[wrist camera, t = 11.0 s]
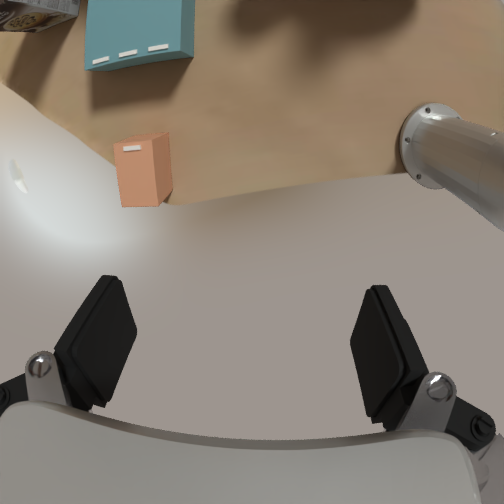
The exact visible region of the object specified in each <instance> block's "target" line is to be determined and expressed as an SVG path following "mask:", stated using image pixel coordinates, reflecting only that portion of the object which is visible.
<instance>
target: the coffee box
mask: <svg viewBox="0 0 504 504" xmlns="http://www.w3.org/2000/svg"><path fill="white" fill-rule="evenodd" d="M79 6H80V0H0V31H8V32H33V33H38V32H40V31H42V30H45V29H47V28H49V27H51V26H54V25H56V24H59V23H61V22H64V21H67V20H69V19H72V18H75V17H77V16H78V12H79Z"/></svg>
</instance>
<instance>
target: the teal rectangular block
mask: <svg viewBox="0 0 504 504" xmlns="http://www.w3.org/2000/svg"><path fill="white" fill-rule="evenodd" d="M194 16H195V0H88V9H87V20H86V36H85V70H90V71H112V70H116V69H120V68H125V67H130V66H135V65H140V64H146V63H152V62H158V61H165V60H172V59H180V58H190V57H194Z"/></svg>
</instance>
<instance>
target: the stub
mask: <svg viewBox="0 0 504 504" xmlns="http://www.w3.org/2000/svg"><path fill="white" fill-rule="evenodd" d="M113 145H114V155H115V163H116V171H117V178H118V185H119V191H120V198H121V204H122V207H144V206H145V207H147V206H159V205H160V204H161V203H162V202H163V200H164V199H165V198H166V197H167V196H168V195H169V194H170V192H171V191H172V190H173V187H172V175H171V163H170V148H169V133H156V134H146V135H136V136H132V137H130V138H127V139H125V140H122V141H120V142H117V143H115V144H113Z"/></svg>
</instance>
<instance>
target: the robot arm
mask: <svg viewBox="0 0 504 504" xmlns="http://www.w3.org/2000/svg"><path fill="white" fill-rule="evenodd" d="M425 109H426V111H425ZM405 138H406V140H405ZM400 155H401V159H402V162H403V165H404V167H405V169H406V171H407V172H408V174H409V175H410V176H411V177H412V178H413V179H414V180H415V181H416V182H417V183H419V184H421V185H422V186H424V187H427V188H430V189H442V188H446V189H447V190H448V191H450V192H451V193H453V194H454V195H455V196H457V197H458V198H459V199H461V200H462V201H464V202H465V203H466V204H468V205H469V206H470V207H472V208H473V209H474V210H475V211H477V212H478V213H479V214H481V215H482V216H483V217H484V218H486V219H487V220H488V221H489V222H491V223H492V224H493V225H494V226H496V227H497V228H498V229H500V230H502V231H504V133H503V132H500V131H498V130H495V129H492V128H488V127H485V126H482V125H479V124H475V123H472V122H468V121H465V120H462V118H461V117H460V116H459V114H458V113H457V112H456V111H454V110H453V109H452V108H450V107H448V106H446V105H444V104H439V103H427V104H423V105H421V106H419V107H417V108H416V109H414V110H413V111H412V112H411V113H410V114H409V116H408V117H407V119H406V120H405V122H404V124H403V127H402V130H401V134H400ZM136 335H137V328H136V325H135V322H134V319H133V316H132V313H131V310H130V307H129V304H128V301H127V297H126V294H125V291H124V288H123V284H122V281H121V280H119V279H118V278H117V276H110V275H103V276H101V278H100V279H99V280H98V282H97V283H96V285H95V286H94V287H93V289H92V290H91V292H90V293H89V295H88V296H87V297H86V299H85V300H84V302H83V303H82V305H81V307H80V308H79V309H78V311H77V312H76V314H75V315H74V317H73V319H72V320H71V322H70V323H69V325H68V326H67V328H66V329H65V331H64V333H63V334H62V336H61V337H60V339H59V341H58V342H57V344H56V346H55V347H54V349H55V352H54V354H52V353H50V352H48V351H41V352H37V353H36V354H34V355H33V356H31V357H30V359H29V360H28V361H27V363H26V366H25V373H24V374H22V375H19V376H17V377H15V378H13V379H11V380H9V381H7V382H4V383H2V384H0V504H504V438H503V437H502V435H501V434H498V435H496V434H495V432H496V428H495V423H494V421H493V419H492V418H491V417H490V415H488V414H487V413H485V412H483V411H482V410H480V409H478V408H476V407H474V406H473V405H471V404H469V403H467V402H466V401H464V400H462V399H460V398H459V397H457V396H456V393H457V390H456V385H455V384H454V382H453V380H452V379H451V378H450V377H449V376H447V375H446V374H444V373H441V372H432V373H429V371H428V369H427V366H426V364H425V361H424V359H423V357H422V354H421V352H420V350H419V347H418V345H417V343H416V341H415V339H414V336H413V334H412V332H411V330H410V327H409V325H408V323H407V322H406V320H405V319H404V318H403V316H402V314H401V312H400V310H399V308H398V306H397V304H396V302H395V300H394V298H393V296H392V294H391V292H390V290H389V288H388V286H386V285H373V286H371V288H370V289H367V290H366V293H365V296H364V299H363V303H362V306H361V309H360V312H359V315H358V318H357V321H356V324H355V327H354V330H353V333H352V336H351V339H350V346H351V350H352V354H353V358H354V362H355V366H356V370H357V374H358V379H359V383H360V387H361V392H362V396H363V401H364V406H365V410H366V415H367V416H368V417H371V421H372V424H374V423H381V422H382V423H383V427H384V428H385V429H384V431H383V432H380V433H373V434H366V435H358V436H348V437H337V438H325V439H310V440H309V439H308V440H247V439H230V438H218V437H207V436H199V435H191V434H184V433H178V432H171V431H165V430H160V429H154V428H149V427H144V426H140V425H135V424H131V423H127V422H122V421H119V420H115V419H111V418H107V417H103V416H100V415H96V414H93V413H92V410H91V409H92V406H93V404H94V405H96V406H100V407H103V408H105V406H106V403H107V402H109V401H110V400H111V398H112V396H113V393H114V390H115V388H116V385H117V383H118V380H119V377H120V375H121V372H122V370H123V367H124V365H125V363H126V360H127V357H128V355H129V353H130V350H131V348H132V345H133V343H134V341H135V339H136Z"/></svg>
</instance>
